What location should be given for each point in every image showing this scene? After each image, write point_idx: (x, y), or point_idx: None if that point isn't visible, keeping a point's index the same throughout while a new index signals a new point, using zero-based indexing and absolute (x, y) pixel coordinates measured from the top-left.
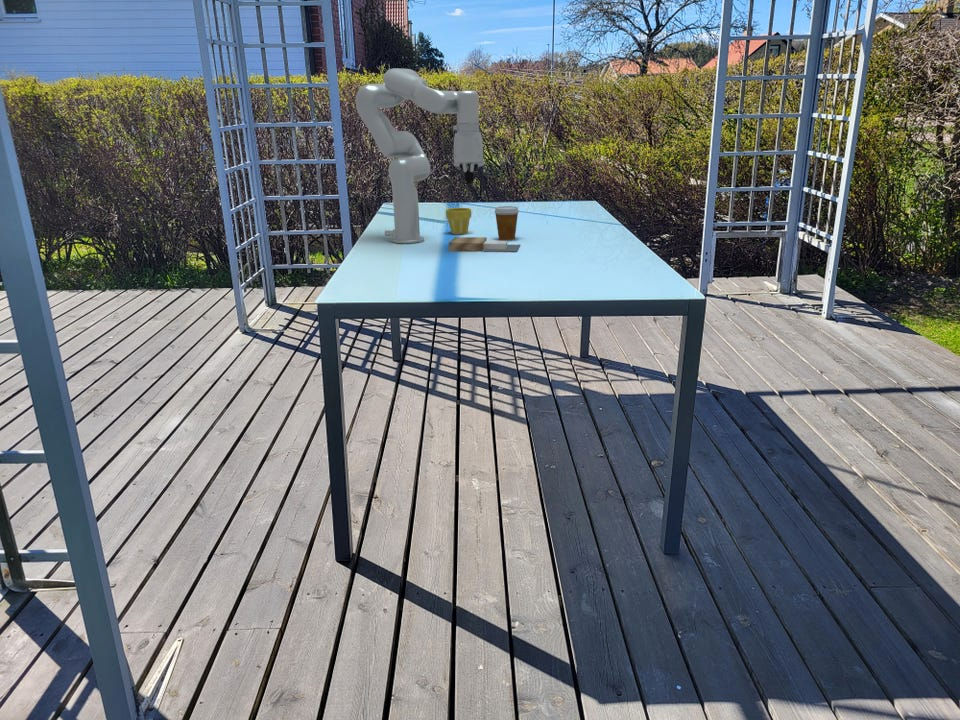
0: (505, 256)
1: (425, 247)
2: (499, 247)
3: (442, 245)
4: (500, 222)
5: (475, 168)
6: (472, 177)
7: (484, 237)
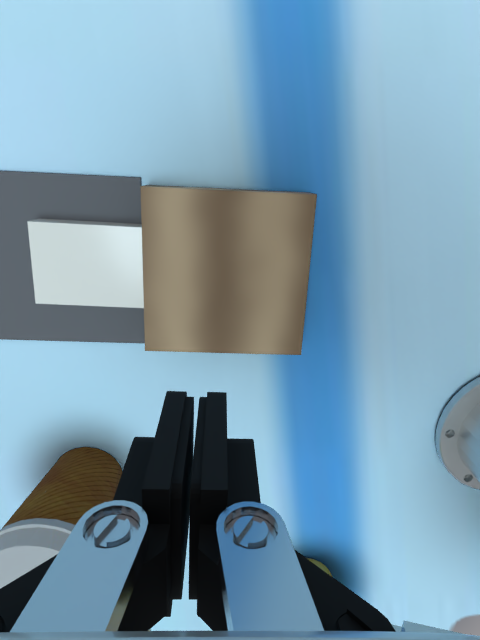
0: (5, 48)
1: (423, 290)
2: (65, 221)
3: (349, 336)
4: (86, 499)
5: (25, 579)
6: (134, 460)
7: (154, 346)
